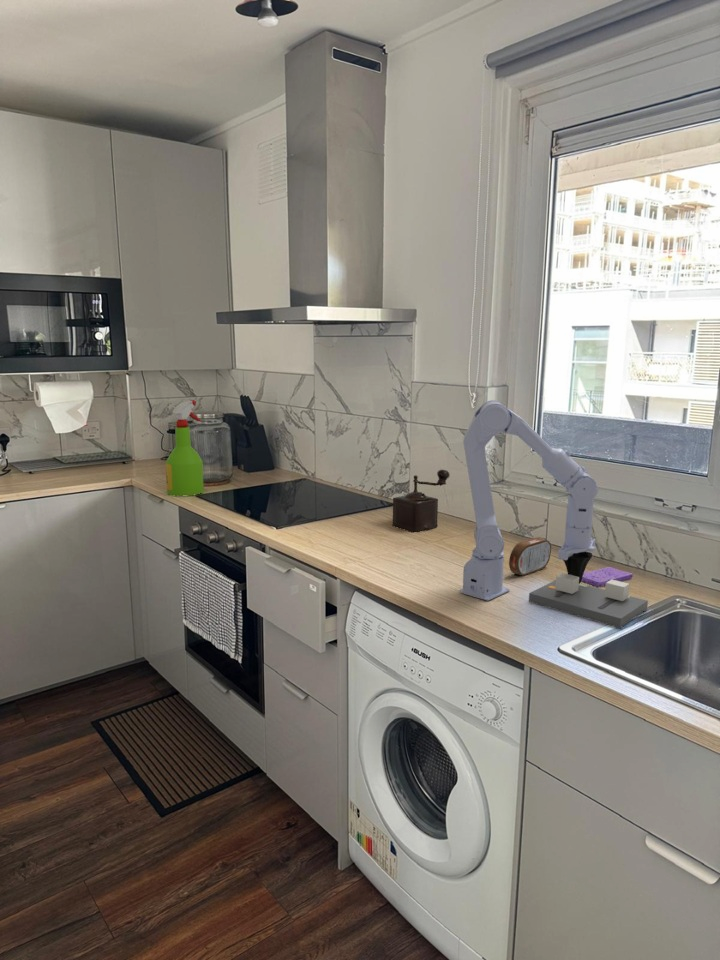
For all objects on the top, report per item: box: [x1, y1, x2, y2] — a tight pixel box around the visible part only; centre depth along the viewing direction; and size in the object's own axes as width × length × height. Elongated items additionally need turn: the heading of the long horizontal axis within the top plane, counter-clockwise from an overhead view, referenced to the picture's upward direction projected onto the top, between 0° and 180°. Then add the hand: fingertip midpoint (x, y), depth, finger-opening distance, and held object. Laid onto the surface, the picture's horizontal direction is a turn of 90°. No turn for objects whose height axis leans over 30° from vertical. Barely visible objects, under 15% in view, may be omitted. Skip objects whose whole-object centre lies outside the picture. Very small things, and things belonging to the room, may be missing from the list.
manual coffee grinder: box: [392, 469, 450, 533], centre depth 218 cm, size 16×11×18 cm
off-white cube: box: [555, 572, 579, 594], centre depth 156 cm, size 3×4×3 cm
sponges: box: [581, 566, 634, 588], centre depth 171 cm, size 7×13×2 cm, turn 122°
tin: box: [508, 536, 552, 576], centre depth 176 cm, size 15×3×8 cm, turn 131°
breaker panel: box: [528, 579, 649, 629], centre depth 153 cm, size 14×21×2 cm, turn 47°
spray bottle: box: [165, 399, 205, 497], centre depth 265 cm, size 14×18×35 cm
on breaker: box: [604, 580, 630, 601], centre depth 152 cm, size 3×4×3 cm
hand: (574, 583), depth 159 cm, fingers closed
